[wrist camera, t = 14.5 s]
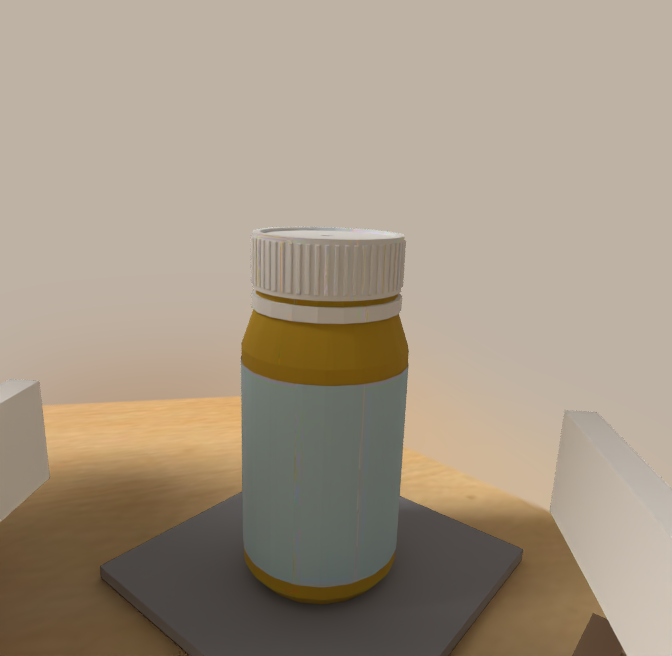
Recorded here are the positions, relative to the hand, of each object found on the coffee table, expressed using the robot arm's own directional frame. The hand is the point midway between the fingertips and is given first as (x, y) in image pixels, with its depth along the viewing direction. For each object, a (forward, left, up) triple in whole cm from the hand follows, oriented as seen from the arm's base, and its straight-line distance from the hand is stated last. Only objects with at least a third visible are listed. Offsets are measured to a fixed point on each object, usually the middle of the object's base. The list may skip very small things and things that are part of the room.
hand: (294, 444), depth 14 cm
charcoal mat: (-6, +8, -11) cm, 15 cm away
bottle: (-6, +8, -11) cm, 14 cm away
